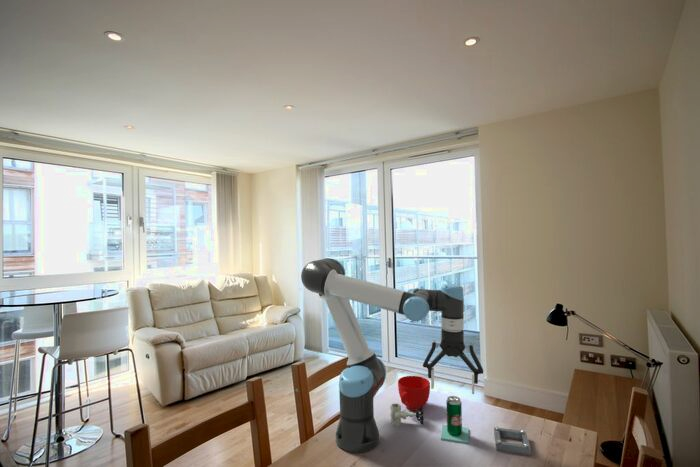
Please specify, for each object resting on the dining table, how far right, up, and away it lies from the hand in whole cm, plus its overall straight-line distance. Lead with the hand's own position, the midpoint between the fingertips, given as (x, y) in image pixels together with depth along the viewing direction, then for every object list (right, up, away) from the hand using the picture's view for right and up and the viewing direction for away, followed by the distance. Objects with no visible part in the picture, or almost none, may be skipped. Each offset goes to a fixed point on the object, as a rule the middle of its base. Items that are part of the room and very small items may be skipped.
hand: (452, 389), depth 125 cm
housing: (+18, -15, -7) cm, 24 cm away
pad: (+1, -16, 0) cm, 16 cm away
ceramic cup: (-11, -16, +19) cm, 27 cm away
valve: (-15, -16, +8) cm, 23 cm away
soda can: (+1, -15, 0) cm, 15 cm away
